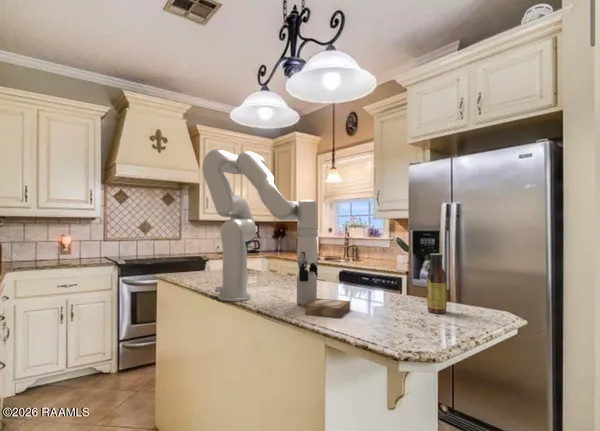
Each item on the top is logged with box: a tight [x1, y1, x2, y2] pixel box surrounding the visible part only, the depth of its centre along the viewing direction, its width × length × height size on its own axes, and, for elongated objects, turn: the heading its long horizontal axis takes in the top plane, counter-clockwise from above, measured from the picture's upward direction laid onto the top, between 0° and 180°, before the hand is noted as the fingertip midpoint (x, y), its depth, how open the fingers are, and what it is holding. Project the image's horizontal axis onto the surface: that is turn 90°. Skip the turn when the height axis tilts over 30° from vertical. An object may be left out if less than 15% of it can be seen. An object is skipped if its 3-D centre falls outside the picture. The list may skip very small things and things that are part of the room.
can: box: [296, 270, 318, 307], centre depth 137 cm, size 8×8×12 cm
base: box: [304, 297, 351, 318], centre depth 125 cm, size 12×12×3 cm
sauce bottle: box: [426, 253, 448, 314], centre depth 126 cm, size 7×6×20 cm
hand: (308, 279), depth 137 cm, fingers open, 9 cm apart
